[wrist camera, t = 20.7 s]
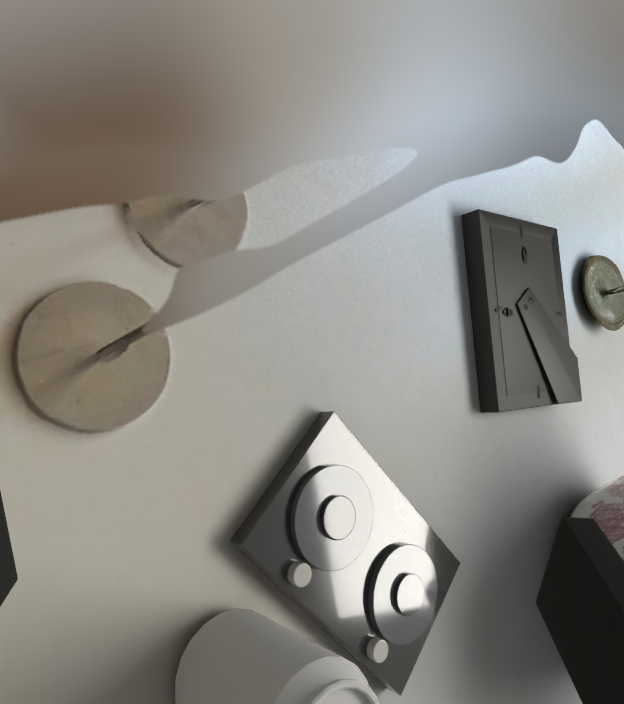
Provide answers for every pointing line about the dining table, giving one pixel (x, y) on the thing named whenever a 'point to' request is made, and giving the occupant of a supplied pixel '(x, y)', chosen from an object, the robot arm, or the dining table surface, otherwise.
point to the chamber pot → (606, 511)
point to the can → (264, 666)
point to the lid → (604, 291)
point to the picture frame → (518, 314)
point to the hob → (351, 551)
